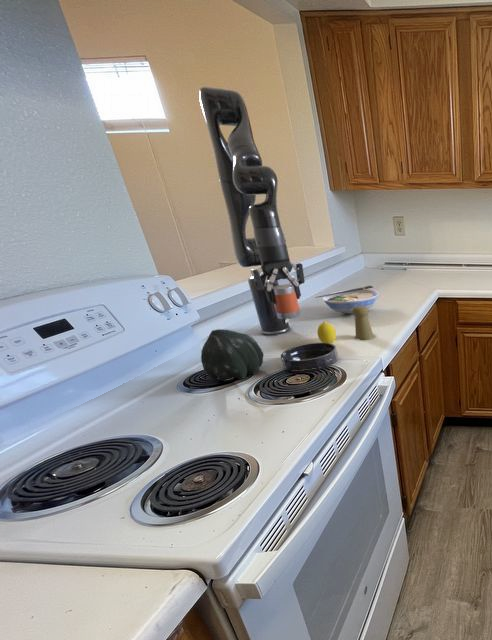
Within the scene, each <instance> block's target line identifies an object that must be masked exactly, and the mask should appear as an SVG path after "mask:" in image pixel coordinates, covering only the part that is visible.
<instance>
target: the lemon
mask: <svg viewBox="0 0 492 640" xmlns="http://www.w3.org/2000/svg"><path fill="white" fill-rule="evenodd" d="M316 334H317V337H318V339H319V341H320V343H330V344H333V342H335V340H336V337H337V333H336V329H335V327H334V326H333V325H332V324H331V323H329V322H326V321H323V322H322V323H320V325H318V327H317V333H316Z"/></svg>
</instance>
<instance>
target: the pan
mask: <svg viewBox="0 0 492 640" xmlns="http://www.w3.org/2000/svg"><path fill="white" fill-rule="evenodd" d="M280 359H281V363H282V368H283V369H284V370H285V371H286V372H290V373H308V372H309V373H310V372H315V371H319V370H323V369H325V368H328V367H330V366H333V365H334V364H335V363H337V362H338V360H339V354H338V350H337V346H336V345H335V344H333V343H331V344H330V343H323V342H311V343H310V342H309V343H303V344H300V345H296V346H293V347H290V348H288V349H286V350H284V351H282V353H281V354H280ZM319 367H321V368H319ZM312 368H317V369H312ZM303 369H312V370H304V371H292V370H303Z"/></svg>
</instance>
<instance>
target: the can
mask: <svg viewBox="0 0 492 640" xmlns="http://www.w3.org/2000/svg"><path fill="white" fill-rule="evenodd" d="M271 291H273V295H274V299H275V304H274V306H275V310H276V313H277V317H278V318H279V319H289V320H290V319H293V318H297V317H300V316H301V310H300V306H299V305H300V304H299V301H298V299H297V297H296V292H295V289H294V285H292V284H279V285H278V286H273V287H272V289H271Z"/></svg>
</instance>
